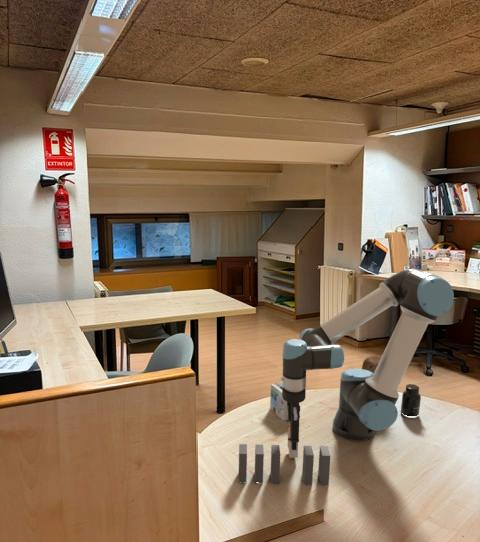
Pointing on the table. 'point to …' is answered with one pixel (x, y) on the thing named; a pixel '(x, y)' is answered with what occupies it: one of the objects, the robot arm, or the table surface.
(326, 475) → the domino
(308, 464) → the domino
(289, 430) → the domino
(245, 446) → the domino
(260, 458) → the domino
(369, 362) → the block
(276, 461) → the domino
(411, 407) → the supplement bottle
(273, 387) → the light bulb box
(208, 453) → the table surface
